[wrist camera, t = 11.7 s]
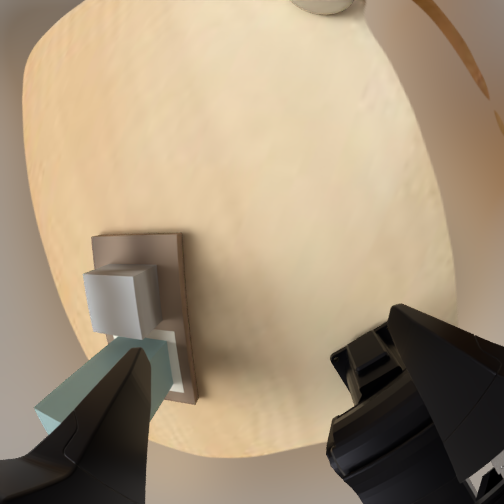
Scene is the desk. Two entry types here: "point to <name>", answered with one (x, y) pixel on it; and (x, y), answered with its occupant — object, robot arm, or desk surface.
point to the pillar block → (96, 368)
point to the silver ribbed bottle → (322, 6)
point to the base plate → (168, 286)
